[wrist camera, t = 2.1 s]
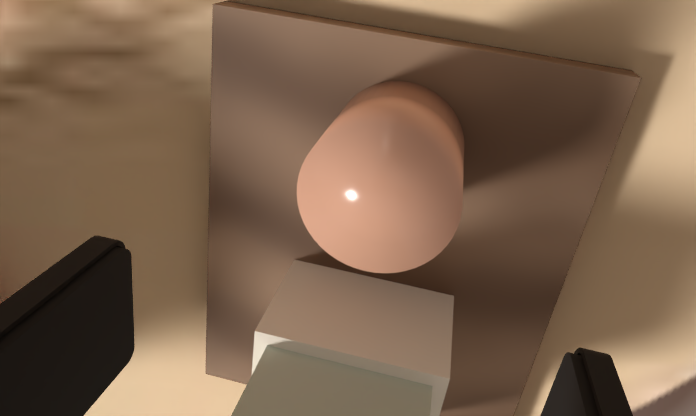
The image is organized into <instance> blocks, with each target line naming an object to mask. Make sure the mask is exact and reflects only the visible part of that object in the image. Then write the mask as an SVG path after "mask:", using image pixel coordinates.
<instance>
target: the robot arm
mask: <svg viewBox="0 0 696 416" xmlns="http://www.w3.org/2000/svg"><path fill="white" fill-rule="evenodd" d="M133 351H134V321H133V293H132V265H131V253H130V251H129V250H128V249H125V245H124V243H123V242H121V241H119V240H114V239H110V238H106V237H102V236H94V237H92V238H90V239H89V240H87V241H86V242H85V243H83V244H82V245H81V246H79V247H78V248H76V249H75V250H74V251H72V252H71V253H70V254H68V255H67V256H65V257H64V258H63V259H61V260H60V261H59V262H57V263H56V264H54V265H53V266H52V267H50V268H49V269H48V270H46V271H45V272H43V273H42V274H41V275H39V276H38V277H37V278H35V279H34V280H32V281H31V282H30V283H28V284H27V285H26V286H24V287H23V288H22V289H20V290H19V291H17V292H16V293H15V294H13V295H12V296H11V297H9V298H8V299H6V300H5V301H4V302H2V303H1V304H0V416H83V415H84V414H85V413H86V412H87V411H88V410H89V408H90V407H91V406H92V405H93V404H94V402H95V401H96V400H97V399H98V398H99V397H100V395H101V394H102V393H103V392H104V391H105V389H106V388H107V387H108V386H109V385H110V384H111V382H112V381H113V380H114V379H115V378H116V377H117V375H118V374H119V373H120V372H121V371H122V369H123V368H124V367H125V366H126V365H127V364H128V362H129V361H130V359H131V357H132V354H133ZM541 416H633V415H632V412H631V409H630V406H629V404H628V401H627V398H626V395H625V393H624V390H623V387H622V385H621V382H620V379H619V376H618V374H617V371H616V368H615V365H614V363H613V360H612V358H611V356H610V355H608V354H605V353H601V352H597V351H592V350H588V349H584V348H578V349H577V350H576V351H575V353H574V354H573V353H569V352H568V353H566V354H565V356H564V358H563V360H562V363H561V365H560V368H559V370H558V373H557V375H556V378H555V380H554V383H553V385H552V388H551V391H550V393H549V396H548V398H547V401H546V403H545V406H544V408H543V411H542V413H541Z"/></svg>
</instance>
